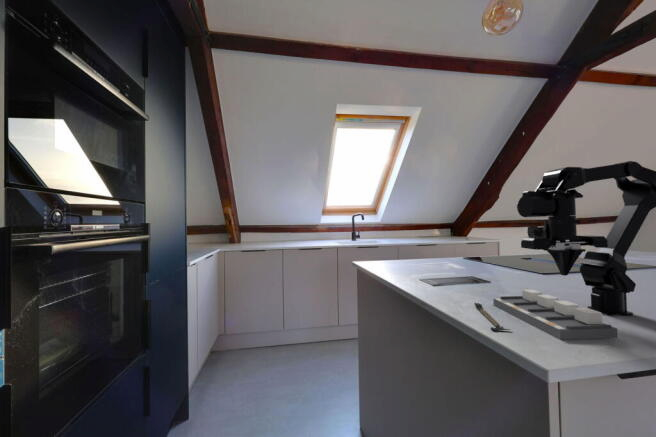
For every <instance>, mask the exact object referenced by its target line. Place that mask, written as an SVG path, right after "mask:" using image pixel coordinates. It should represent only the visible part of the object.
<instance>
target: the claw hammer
mask: <svg viewBox="0 0 656 437" xmlns="http://www.w3.org/2000/svg"><path fill="white" fill-rule="evenodd" d="M473 305H474V306H475V307H476V310H477V311H478V312H480V314H481V315H482V316H484V318H486V320H487V321H488V322H489V323H491V324H492V325H493V326H490V330H491V332H495V333H509V334H513V333H514V331H511V329H510V328H504V326H501V325H500V323H499V322H498V321H497V320H496V319H494V317H492V316H491V314H490V313H489V312H487V311H486V309H484V308H483V304H482V303H479V302H474V304H473Z"/></svg>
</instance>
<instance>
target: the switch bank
mask: <svg viewBox="0 0 656 437" xmlns="http://www.w3.org/2000/svg"><path fill="white" fill-rule="evenodd" d="M492 300H493V306H494V307H497V308H498V309H500V310H502V311H504V312H505V313H508V314H509V315H511V316H514V317H515V318H517V319H520V320H522V321H523V322H525V323H527V324H528V325H531V326H533V327H534V328H537V329H538V330H540V331H543V332H544V333H546V334H548V335H551V337H552V336H553V337H555V338H556V339H558V340H560V341H562V340H563V341H564V340H597V339H601V340H602V339H603V340H604V339H618V337H619V336H618V332H619V331H618V328H617V327H614V326H612V324H607V323H603V322H602V323H603V324H586V323H584V322H581V321H579V320H576V319H575V317H574V315H564V314H561V313H559V312H556V311H554V308H546V307H544V306H541V305H539V304H537V301H529V300H526V299H524V298H523V296H522V295H515V296H514V295H510V296H509V295H508V296H507V295H506V296H501V295H500V298H495V297H494V298H493V299H492Z"/></svg>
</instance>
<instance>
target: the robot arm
mask: <svg viewBox="0 0 656 437" xmlns="http://www.w3.org/2000/svg"><path fill="white" fill-rule="evenodd" d="M628 177H632V178H634V179H632V180H630V179H629V178H628ZM611 179H613V180H615V183H616V186H617V188H618V189H619V190H620V191H621V192H622V194H621V196H622V201H623V203H624V205H623V207H622V209H621V211H620V212H619V214H618V216H617V218H616V220H615V221H614V223H613V225H612V227H611V229H610V231H609V232H608V234H607V236H606V237H605V236H603V235H577V234H578V232H577V231H578V230H577V225H578V224H581V219H577V210H576V199H582V198H584V195H583V194H582V193H581V192H578V190H577V188H580V187H582V186H585V184H588V183H591V182H597V181H605V180H611ZM521 195H522V196H521V197H520V198H519V200H518V202H517V204H516V208H517V210H516V211H517V212H518V214H519V215H520V216H521V217H522V218H537V217H538V218H539V217H540V218H543V217H544V218H546V217H547V218H548V220H547V219H545V220H544V222H543V226H538V225H529V226H527V232H526V233H527V236H528V237H523V238H522V240H520V248H522V249H529V250H533V251H534V250H538V251H539V250H543V251H546V252H547V253H548V254H550V256H551V258H552V259H553V260H554V262H555V264H556V267H557V269H558V270H559V273H560V275H561V276H563V277H564V276H569V274H570V272H571V271H572V270H571V269H572V268H573V266H574V264H575V263H576V261H577V260H578V258H579V257H580V256H581V254H582V253H583V252H586V253H585V255H584V257H583V259H582V260H581V261H580V262H579V264H581V265H580V267H579V271H580V275H581V277H582V279H583V281H584V284H585V286H587V287H591V292H590V305H589V306H587V307H586V308H589V309H592V310H595V311H598V312H601V313H602V315H606V316H631V315H632V316H633V315H634V312H632V311H629V310H628V303H627V293H628V294H630V293H634V292H635V289H636V286H637V284H636V282H635V281H634V280H632V279H631V278H630V277H629V275H627V274H626V273H627V269H628V266H627V262H626V259H625V257H626V255H627V253H628V251H629V249H630V247H631V246H632V244H633V242H634V240H635V239H636V236H637V235H638V233H639V231H640V229H641V228H642V226H643V224H644V222H645V220H646V219H647V217H648V216H649V213H650V211H652V210H653V209H655V208H656V170H653V169H650V168H648V167H644V166H642V164H640V163H639V162H638V161H633V160H627V161H622V162H619V163H614V164H610V165H608V164H607V165H600V166H595V167H589V168H588V167H587V168H586V167H585V168H584V167H583V166H582V167H581V166H566V167H561V168H555V169H552V170H548V171H545V172H544V174H543V176H542V179H541V181H540V182H539V183H538V185H537V187H536V188H535V190H534V191H533V190H527V191H523V192H522V194H521ZM582 246H583V247H584V246H591V247H594V248H599V249H598V250H596V251H592V250H587V251H586V248H582Z"/></svg>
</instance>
